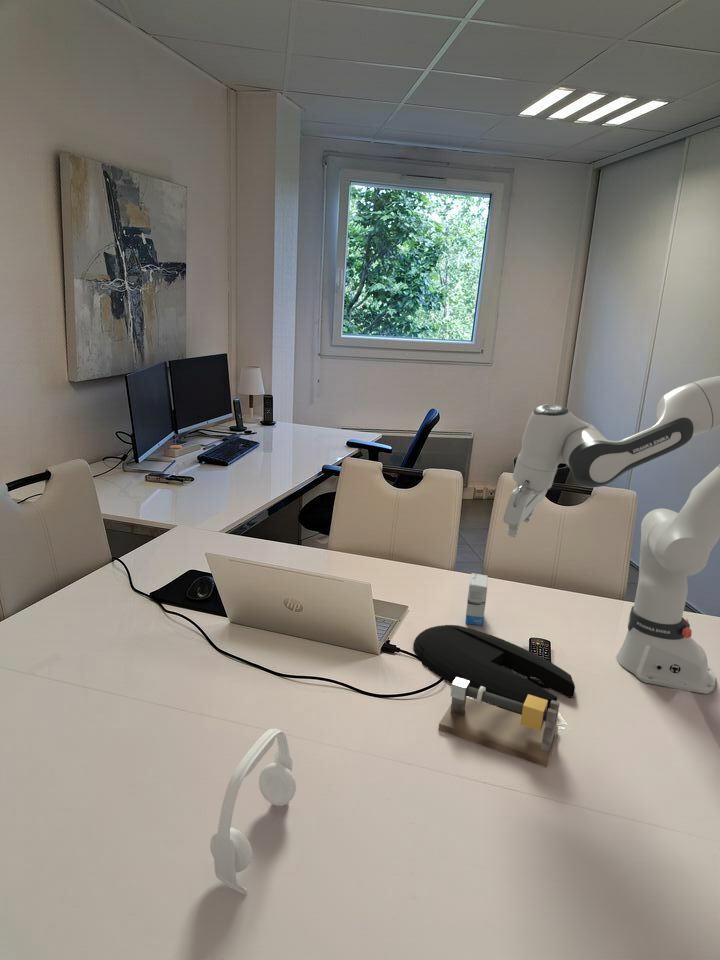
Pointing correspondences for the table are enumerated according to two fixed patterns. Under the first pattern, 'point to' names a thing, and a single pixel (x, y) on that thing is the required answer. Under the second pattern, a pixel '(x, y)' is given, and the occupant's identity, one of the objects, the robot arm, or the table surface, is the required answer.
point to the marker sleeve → (533, 712)
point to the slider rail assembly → (503, 730)
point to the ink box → (476, 599)
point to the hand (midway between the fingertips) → (519, 527)
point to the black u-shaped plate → (489, 663)
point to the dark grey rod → (497, 700)
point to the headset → (275, 788)
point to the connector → (459, 695)
